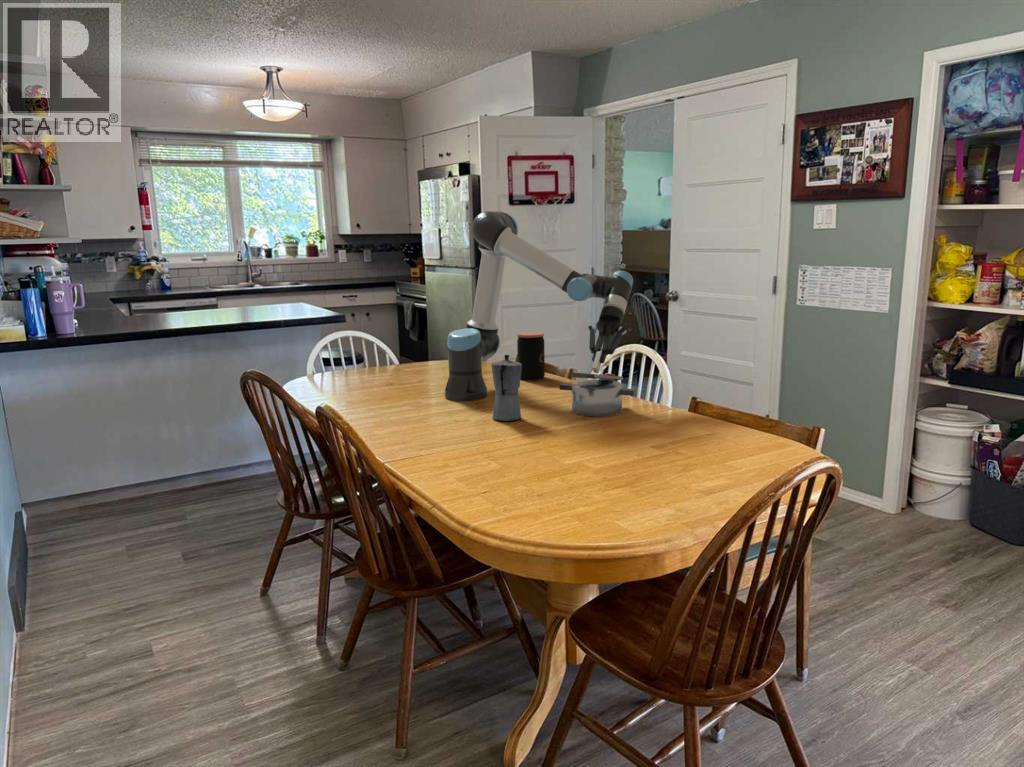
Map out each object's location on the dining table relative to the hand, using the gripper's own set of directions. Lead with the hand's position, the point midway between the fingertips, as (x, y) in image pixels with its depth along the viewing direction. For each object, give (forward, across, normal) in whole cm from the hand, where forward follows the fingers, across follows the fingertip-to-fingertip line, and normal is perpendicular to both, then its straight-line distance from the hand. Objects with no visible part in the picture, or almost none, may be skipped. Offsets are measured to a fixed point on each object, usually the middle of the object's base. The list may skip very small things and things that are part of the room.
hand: (595, 370), depth 218 cm
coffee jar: (-19, +42, -39) cm, 60 cm away
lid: (+3, 0, 0) cm, 3 cm away
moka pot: (+23, +22, +3) cm, 32 cm away
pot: (+8, 0, -12) cm, 14 cm away
